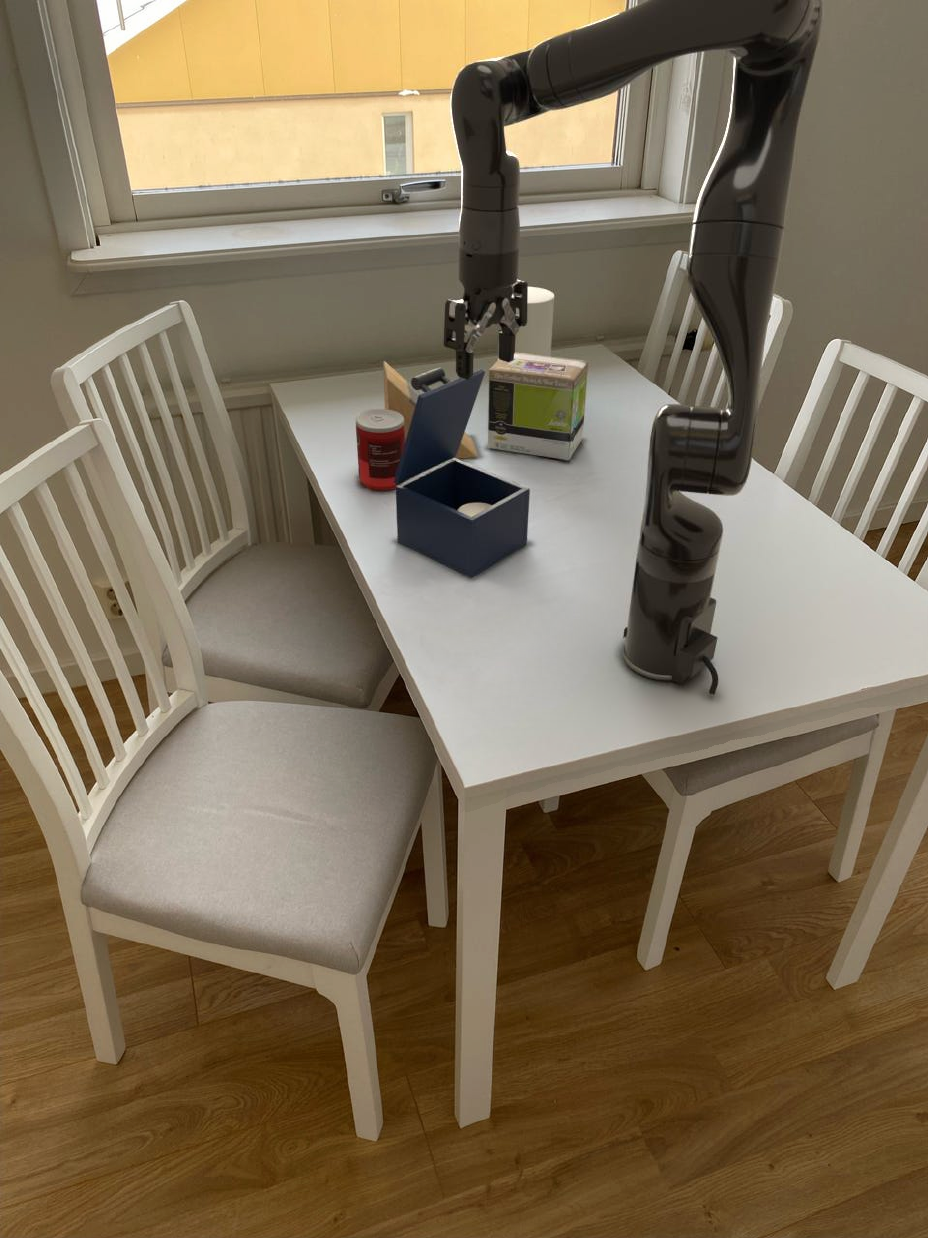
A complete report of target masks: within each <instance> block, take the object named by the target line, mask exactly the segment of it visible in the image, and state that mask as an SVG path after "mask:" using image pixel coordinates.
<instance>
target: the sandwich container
mask: <svg viewBox="0 0 928 1238" xmlns="http://www.w3.org/2000/svg"><path fill="white" fill-rule="evenodd" d="M382 369H383V370H382V371H383V394H384V396H383V397H384V409H387V410H392V411H396V412H398V413H400V414H401V415H402V416H403V418H404V427H405V441H406V437H407V434H408V430H409V427H410V424H411V420H412V417H413V413H414V410H415V406H416V403H417V399H418V396H419V395H420V394H421V393H420V392H419V390H415V389H414V388H413V387H412V385H411V383H409V382H408V381H407V380H406V379H405V378H404V376H402V375H401V374H399V372H397V371H396V370H395V369H394V368H393V367H392V366H391V365H390V364H389V363H388V362H386V361H385V360H383V361H382ZM478 457H479V456H478V452H477V448H476V446H475V444H474V441H473V439H472V437H471V436H470V435H469V434H468V433H466V431H465V432H464V435H463V438H462V441H461V444H460V447H459V449H458V452H457V455H456V457H454V458H456V459H470V458H471V459H472V458H478ZM452 459H453V458H452Z"/></svg>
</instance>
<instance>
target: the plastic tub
mask: <svg viewBox="0 0 928 1238" xmlns="http://www.w3.org/2000/svg"><path fill="white" fill-rule="evenodd" d="M490 506H492V505H489V504H486V503H477V502H476V503H468V504H465V505H463V506H461V507H460V508H459V509H458V511H459V512H461V513H464V514H466V515H468V516H470V517H472V516H474V515H476V514H478V513H479V512H481V511H483V510H485V509H487V508H488V507H490Z"/></svg>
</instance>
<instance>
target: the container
mask: <svg viewBox="0 0 928 1238" xmlns="http://www.w3.org/2000/svg"><path fill="white" fill-rule="evenodd" d="M554 306H555V294H554V292H552V291H551V290H548V289H545V288H542V287H536V286H528V307H527V324H526V326H521V327H520V328H519V331H518V333H517V334H516V338H515V352H516V353H525V354H533V355H542V356H550V357H552V355H551V354H552V342H553V341H552V340H553V325H554V324H553V323H554V308H555V307H554ZM516 315H519V309H518V308H516ZM499 332H502V330H500V329H499V328H498V333H499ZM497 338H498V342H497V343H498V345H497V347H498V346H499V337H497ZM498 360H499V357H498V356H497V361H498Z"/></svg>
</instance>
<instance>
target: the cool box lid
mask: <svg viewBox="0 0 928 1238" xmlns="http://www.w3.org/2000/svg"><path fill="white" fill-rule="evenodd" d="M485 373H486V371H485V370H484V369H481V368H480V369H478V370H476V371H473V377H472V378H471V379H469V380H466V379H463V378H460V377H458V378H456V379H454V380H450V379H449V378H448V377H446V373H445V370H444V369H443V368H442V367H437V368H434V369H431V370H429V371H426V372H423V373H421V374H419V375H416V376H414V377H412V378H411V380H410V385H411V386H412V387H413V388H414V389H415V390H417V391H422V393H420V395H419V396H418V399H417V403H416V406H415V410H414V413H413V417H412V420H411V424H410V427H409V430H408V434H407V437H406V441H405V444H404V448H403V451H402V455H401V458H400V462H399V465H398V468H397V472H396V475H395V479H394V483H396V484H397V485H398V484H400V483H402V482H406V481H408V480H410V479H412V478H414V477H416V476H418V475H420V474H422V473H424V472H426V471H429V470H431V469H433V468H435V467H437V466H439V465H441V464H443V463H445V462H447V461H449V460H451V459H452V458H454V457H456V455H457V452H458V449H459V447H460V444H461V441H462V438H463V435H464V432H465V433H466V429H467V426H468V423H469V420H470V417H471V415H472V411H473V408H474V406H475V403H476V400H477V397H478V393H479V391H480V388H481V385H482V383H483V379H484V377H485ZM439 382H440V383H442V384H441V385H439V386H437V387H434V388H432V389H431V388H430V387H429V386H433V385H435V384H437V383H439Z"/></svg>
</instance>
